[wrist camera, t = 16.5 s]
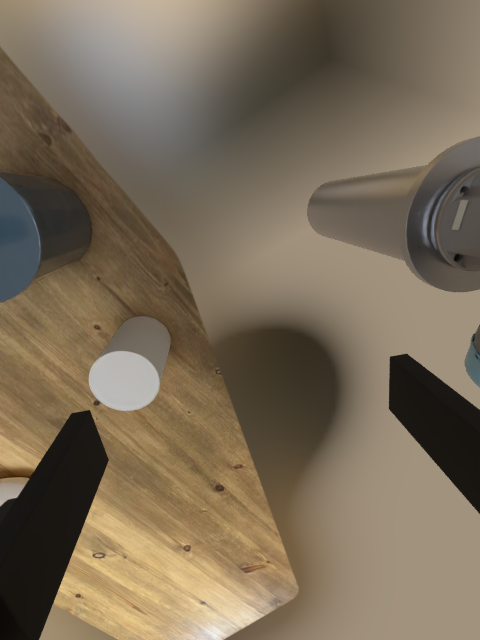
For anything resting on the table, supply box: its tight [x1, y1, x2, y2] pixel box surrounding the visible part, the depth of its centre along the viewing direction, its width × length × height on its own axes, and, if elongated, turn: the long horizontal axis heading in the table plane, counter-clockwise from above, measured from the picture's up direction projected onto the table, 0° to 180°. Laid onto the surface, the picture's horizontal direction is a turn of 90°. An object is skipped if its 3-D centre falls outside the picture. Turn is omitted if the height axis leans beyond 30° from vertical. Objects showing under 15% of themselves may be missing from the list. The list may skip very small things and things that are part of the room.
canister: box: [0, 169, 92, 284], centre depth 36 cm, size 12×12×14 cm
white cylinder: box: [89, 316, 171, 411], centre depth 44 cm, size 8×8×12 cm
